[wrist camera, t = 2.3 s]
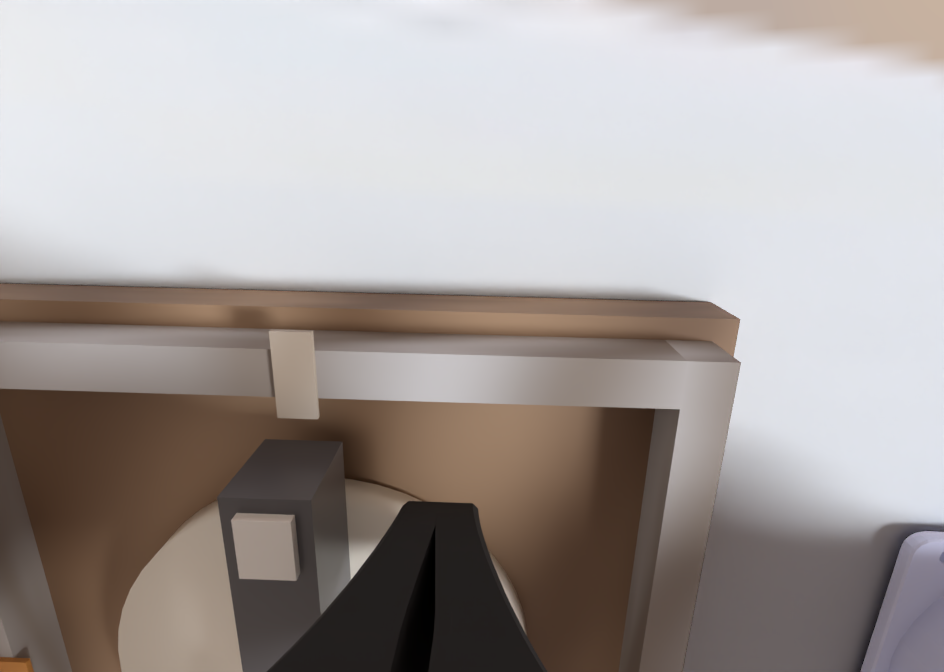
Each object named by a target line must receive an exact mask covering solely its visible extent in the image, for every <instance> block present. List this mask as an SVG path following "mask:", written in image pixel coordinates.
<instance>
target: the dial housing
mask: <svg viewBox="0 0 944 672" xmlns="http://www.w3.org/2000/svg"><path fill="white" fill-rule="evenodd" d="M739 323H740V319H739V318H737V317H735V316H734V315H732V314H730V313H728V312H727V311H725V310H723V309H721V308H720V307H718V306H716V305H715V304H713V303H711V302H683V301H645V300H608V299H570V298H533V297H495V296H458V295H420V294H383V293H345V292H308V291H270V290H233V289H195V288H158V287H120V286H83V285H45V284H8V283H0V672H122V671H121V665H120V659H119V652H118V629H119V624H120V619H121V614H122V609H123V606H124V604H125V601H126V599H127V596H128V594H129V591H130V589H131V587H132V586H133V584H134V582H135V581H136V579H137V578H138V576H139V574H140V573H141V571H142V570H143V569H144V567H145V566H146V565H147V564H148V563H149V562H150V561H151V559H152V558H153V557H154V556H155V555H156V554H157V552H158V551H159V550H160V549H161V548H162V547H163V546H164V544H165V543H166V542H167V541H168V540H169V539H170V537H171V536H172V535H173V534H174V533H175V532H176V531H177V530H178V528H179V527H180V526H181V525H182V524H183V523H184V522H186V521H187V520H188V519H189V518H191V517H192V516H193V515H194V514H195V513H197V512H198V511H199V510H201V509H202V508H204V507H206V506H207V505H209V504H211V503H212V502H214V501H216V500H217V497H218V495H219V494H220V493H221V492H222V490H223V489H224V488H225V487H226V486H227V484H228V483H229V482H230V481H231V480H232V478H233V477H234V476H235V475H236V474H237V472H238V471H239V470H240V469H241V468H242V466H243V465H244V464H245V463H246V461H247V460H248V459H249V458H250V457H251V455H252V454H253V453H254V452H255V451H256V449H257V448H258V447H259V446H260V445H261V443H262V442H263V441H264V440H265V439H278V440H309V441H340V442H342V443H343V459H344V475H345V479H352V480H357V481H362V482H367V483H372V484H377V485H381V486H384V487H387V488H390V489H393V490H396V491H399V492H402V493H405V494H407V495H410V496H412V497H414V498H416V499H418V500H421V501H424V502H453V503H473V504H474V505H475V506H476V507H477V508H478V513H479V519H480V524H481V529H482V532H483V536H484V539H485V542H486V545H487V548H488V550H489V551H490V552H491V553H492V554H493V556H494V557H495V558H496V560H497V561H498V562H499V564H500V565H501V566H502V568H503V569H504V570H505V572H506V574H507V576H508V578H509V579H510V581H511V583H512V585H513V587H514V589H515V590H516V593H517V596H518V599H519V601H520V604H521V607H522V610H523V614H524V619H525V625H526V630H527V637H528V639H529V641H530V643H531V645H532V646H533V648H534V650H535V652H536V653H537V655H538V657H539V659H540V660H541V662H542V664H543V665H544V667H545V669H546V670H547V672H682V671H683V666H684V660H685V655H686V650H687V645H688V639H689V634H690V629H691V623H692V618H693V613H694V608H695V602H696V597H697V592H698V587H699V581H700V576H701V571H702V565H703V560H704V555H705V550H706V544H707V539H708V534H709V528H710V523H711V518H712V513H713V507H714V502H715V497H716V492H717V486H718V481H719V476H720V470H721V465H722V460H723V455H724V449H725V444H726V439H727V433H728V428H729V423H730V418H731V412H732V407H733V402H734V397H735V391H736V386H737V381H738V375H739V370H740V365H741V362H739V361H738V360H737V359H735V358H734V357H733V356H734V350H735V345H736V339H737V334H738V329H739Z"/></svg>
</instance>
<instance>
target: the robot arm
mask: <svg viewBox="0 0 944 672" xmlns="http://www.w3.org/2000/svg"><path fill="white" fill-rule="evenodd" d="M267 672H547V670H546V669H545V667H544V665H543V664H542V662H541V660H540V659H539V657H538V655H537V653H536V652H535V650H534V648H533V646H532V645H531V643H530V641H529V639H528V637H527V635H526V633H525V632H524V630H523V628H522V626H521V624H520V622H519V620H518V618H517V616H516V614H515V612H514V610H513V608H512V606H511V604H510V602H509V600H508V597H507V595H506V593H505V591H504V589H503V586H502V584H501V581H500V579H499V577H498V574H497V572H496V570H495V567H494V565H493V562H492V559H491V557H490V554H489V551H488V548H487V545H486V542H485V539H484V536H483V532H482V529H481V524H480V519H479V513H478V508H477V507H476V506H475V505H474V504H473V503H453V502H424V501H408V502H407V503H405V504H404V505H403V506H402V508H401V509H400V511H399V513H398V515H397V516H396V518H395V519H394V521H393V523H392V524H391V526H390V527H389V529H388V530H387V532H386V533H385V535H384V536H383V538H382V539H381V540H380V542H379V543H378V545H377V546H376V548H375V549H374V550H373V552H372V553H371V554H370V556H369V557H368V558H367V560H366V561H365V562H364V564H363V565H362V566H361V568H360V569H359V570H358V571H357V573H356V574H355V575H354V577H353V578H352V579H351V580H350V582H349V583H348V584H347V585H346V587H345V588H344V589H343V590H342V591H341V592H340V594H339V595H338V596H337V597H336V598H335V599H334V601H333V602H332V603H331V604H330V605H329V606H328V608H327V609H326V610H325V611H324V612H323V614H322V615H321V616H320V617H319V618H318V619H317V620H316V621H315V623H314V624H313V625H312V626H311V627H310V628H309V629H308V630H307V631H306V632H305V633H304V634H303V635H302V637H301V638H300V639H299V640H298V641H297V642H296V643H295V644H294V645H293V646H292V647H291V648H290V649H289V650H288V651H287V652H286V653H285V654H284V655H283V656H282V657H281V658H280V659H279V660H278V661H277V662H276V663H275V664H274V665H273V666H272V667H271V668H270V669H269V670H268V671H267ZM860 672H944V532H934V531H923V532H916V533H914V534H912V535H910V536H908V537H907V538H906V539H905V540H904V542H903V544H902V546H901V548H900V552H899V555H898V558H897V561H896V564H895V567H894V570H893V573H892V576H891V579H890V582H889V585H888V588H887V591H886V594H885V598H884V601H883V604H882V607H881V610H880V613H879V616H878V619H877V622H876V625H875V628H874V631H873V634H872V637H871V640H870V644H869V647H868V650H867V653H866V656H865V659H864V662H863V665H862V668H861V671H860Z"/></svg>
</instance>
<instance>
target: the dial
mask: <svg viewBox="0 0 944 672" xmlns="http://www.w3.org/2000/svg"><path fill="white" fill-rule="evenodd" d="M408 501H421V500H418V499H416V498H414V497H412V496H410V495H407V494H405V493H402V492H399V491H396V490H393V489H390V488H387V487H384V486H381V485H377V484H372V483H367V482H362V481H357V480H352V479H345V475H344V459H343V443H342V442H340V441H309V440H278V439H265V440H264V441H263V442H262V443H261V445H260V446H259V447H258V448H257V449H256V451H255V452H254V453H253V454H252V455H251V457H250V458H249V459H248V460H247V461H246V463H245V464H244V465H243V466H242V468H241V469H240V470H239V471H238V472H237V474H236V475H235V476H234V477H233V478H232V480H231V481H230V482H229V483H228V484H227V486H226V487H225V488H224V489H223V490H222V492H221V493H220V494H219V495H218V497H217V500H216V501H214V502H212V503H211V504H209V505H207V506H206V507H204V508H202V509H201V510H199V511H198V512H197V513H195V514H194V515H193V516H192V517H191V518H189V519H188V520H187V521H186V522H184V523H183V524H182V525H181V526H180V527H179V528H178V530H177V531H176V532H175V533H174V534H173V535H172V536H171V537H170V539H169V540H168V541H167V542H166V543H165V544H164V546H163V547H162V548H161V549H160V550H159V551H158V552H157V554H156V555H155V556H154V557H153V558H152V559H151V561H150V562H149V563H148V564H147V565H146V566H145V567H144V569H143V570H142V571H141V573H140V574H139V576H138V578H137V579H136V581H135V582H134V584H133V586H132V587H131V589H130V591H129V594H128V596H127V599H126V601H125V604H124V606H123V609H122V614H121V619H120V624H119V629H118V652H119V659H120V665H121V671H122V672H267V671H268V670H269V669H270V668H271V667H272V666H273V665H274V664H275V663H276V662H277V661H278V660H279V659H280V658H281V657H282V656H283V655H284V654H285V653H286V652H287V651H288V650H289V649H290V648H291V647H292V646H293V645H294V644H295V643H296V642H297V641H298V640H299V639H300V638H301V637H302V635H303V634H304V633H305V632H306V631H307V630H308V629H309V628H310V627H311V626H312V625H313V624H314V623H315V621H316V620H317V619H318V618H319V617H320V616H321V615H322V614H323V612H324V611H325V610H326V609H327V608H328V606H329V605H330V604H331V603H332V602H333V601H334V599H335V598H336V597H337V596H338V595H339V594H340V592H341V591H342V590H343V589H344V588H345V587H346V585H347V584H348V583H349V582H350V580H351V579H352V578H353V577H354V575H355V574H356V573H357V571H358V570H359V569H360V568H361V566H362V565H363V564H364V562H365V561H366V560H367V558H368V557H369V556H370V554H371V553H372V552H373V550H374V549H375V548H376V546H377V545H378V543H379V542H380V540H381V539H382V538H383V536H384V535H385V533H386V532H387V530H388V529H389V527H390V526H391V524H392V523H393V521H394V519H395V518H396V516H397V515H398V513H399V511H400V509H401V508H402V506H403V505H404V504H405V503H407V502H408ZM488 551H489V550H488ZM489 554H490V557H491V559H492V562H493V565H494V567H495V570H496V572H497V574H498V577H499V579H500V581H501V584H502V586H503V589H504V591H505V593H506V595H507V597H508V600H509V602H510V604H511V606H512V608H513V610H514V612H515V614H516V616H517V618H518V620H519V622H520V624H521V626H522V628H523V630H524V632H525V633H526V635H527V630H526V625H525V619H524V614H523V610H522V607H521V604H520V601H519V599H518V596H517V593H516V590H515V589H514V587H513V585H512V583H511V581H510V579H509V578H508V576H507V574H506V572H505V570H504V569H503V568H502V566H501V565H500V564H499V562H498V561H497V560H496V558H495V557H494V556H493V554H492V553H491V552H490V551H489Z"/></svg>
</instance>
